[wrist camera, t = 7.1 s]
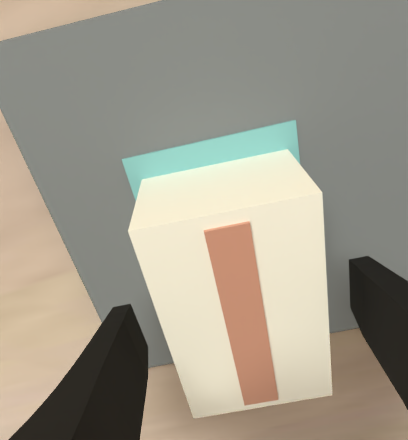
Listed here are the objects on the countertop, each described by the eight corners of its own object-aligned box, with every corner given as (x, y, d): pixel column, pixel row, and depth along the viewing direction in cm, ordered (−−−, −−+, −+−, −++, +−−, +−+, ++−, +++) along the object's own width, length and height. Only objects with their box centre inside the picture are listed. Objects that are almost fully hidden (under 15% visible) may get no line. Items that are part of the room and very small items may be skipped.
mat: (688, -131, 10) (722, -142, 9) (559, 278, 16) (573, 288, 16) (-19, 47, 11) (-31, 48, 10) (127, 361, 18) (125, 373, 17)
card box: (304, 323, 16) (333, 397, 13) (191, 343, 16) (193, 421, 13) (287, 149, 12) (324, 194, 9) (141, 179, 13) (127, 233, 9)
